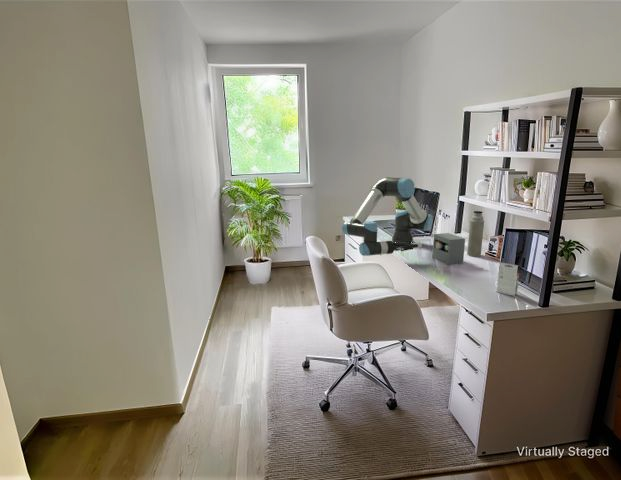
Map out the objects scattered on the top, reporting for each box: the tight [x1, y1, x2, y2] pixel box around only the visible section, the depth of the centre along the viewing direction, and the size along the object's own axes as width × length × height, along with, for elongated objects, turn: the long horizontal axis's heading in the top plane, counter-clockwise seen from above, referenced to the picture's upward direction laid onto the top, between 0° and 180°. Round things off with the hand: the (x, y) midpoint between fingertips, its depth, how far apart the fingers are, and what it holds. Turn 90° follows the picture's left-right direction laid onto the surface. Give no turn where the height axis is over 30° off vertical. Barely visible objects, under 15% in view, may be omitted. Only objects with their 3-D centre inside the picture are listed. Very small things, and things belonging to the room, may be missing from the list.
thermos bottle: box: [466, 210, 485, 258], centre depth 231 cm, size 8×8×28 cm
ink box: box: [495, 261, 520, 297], centre depth 169 cm, size 4×8×15 cm, turn 47°
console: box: [431, 232, 466, 266], centre depth 221 cm, size 16×10×15 cm, turn 15°
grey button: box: [435, 243, 445, 249], centre depth 220 cm, size 3×5×3 cm, turn 105°
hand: (421, 244), depth 221 cm, fingers closed
